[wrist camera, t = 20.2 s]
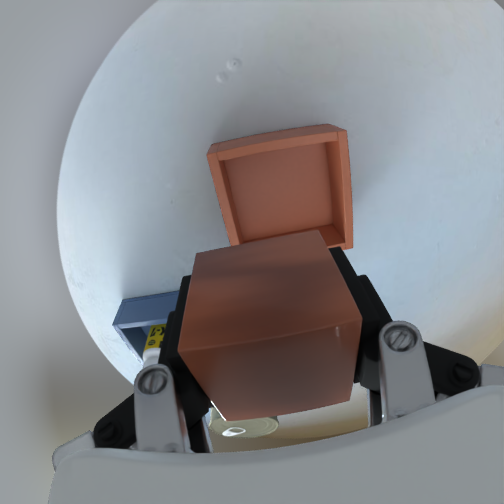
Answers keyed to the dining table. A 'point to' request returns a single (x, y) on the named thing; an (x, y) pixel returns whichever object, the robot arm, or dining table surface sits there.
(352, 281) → the robot arm
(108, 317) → the dining table surface
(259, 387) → the block
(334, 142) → the terracotta bin
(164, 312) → the blue bin
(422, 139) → the dining table surface
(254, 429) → the can
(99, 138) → the dining table surface
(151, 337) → the supplement bottle
